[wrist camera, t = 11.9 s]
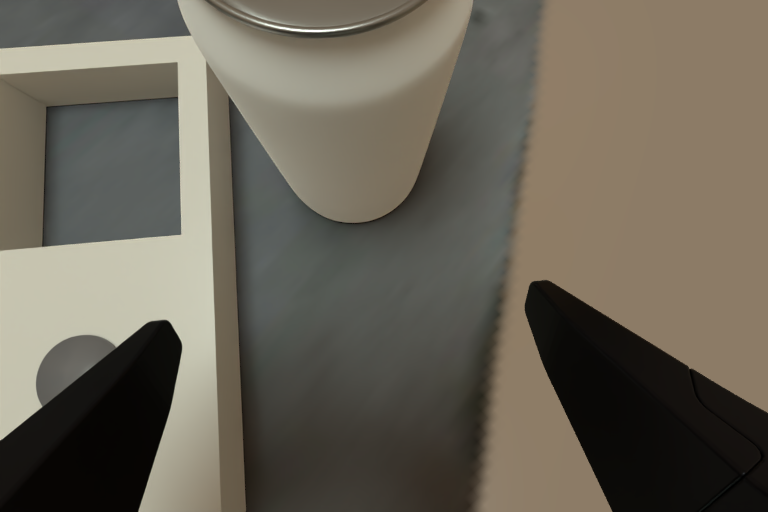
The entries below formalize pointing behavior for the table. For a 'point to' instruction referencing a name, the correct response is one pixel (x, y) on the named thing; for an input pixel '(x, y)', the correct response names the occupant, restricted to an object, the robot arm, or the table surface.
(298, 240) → the table surface
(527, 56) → the table surface
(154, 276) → the control panel
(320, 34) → the can
